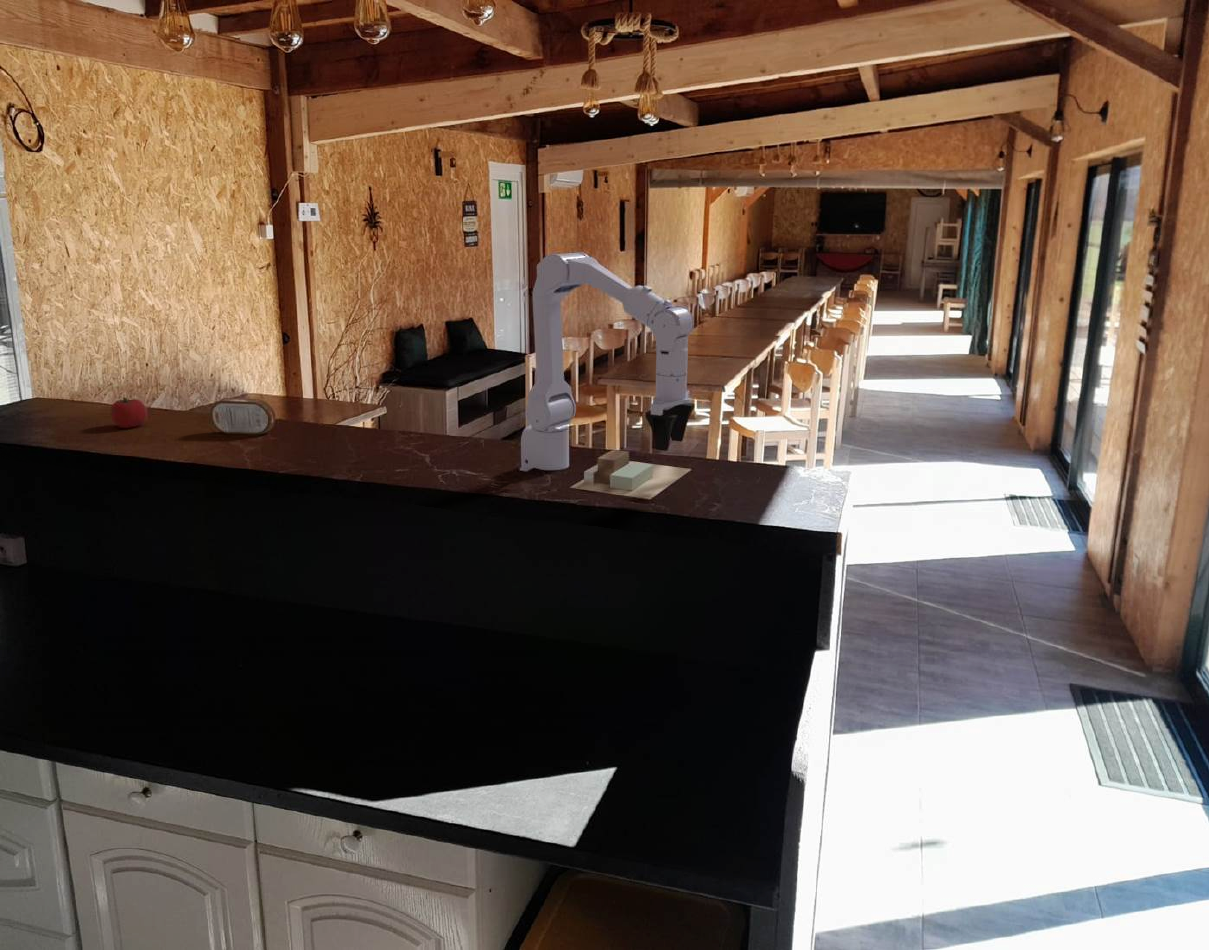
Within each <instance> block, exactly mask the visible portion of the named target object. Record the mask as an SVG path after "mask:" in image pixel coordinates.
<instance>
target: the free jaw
mask: <svg viewBox="0 0 1209 950" xmlns="http://www.w3.org/2000/svg"><path fill="white" fill-rule="evenodd" d="M635 462H636V461H633V462H631V463H629V464H627V465H626V466H624V467H622V468H621V469H619V470H617V471H616V472H614V473H612V474H611V475H610V488H617V489H624V490H631V491H632V490H634V489H635V488H637V487H638V486H640V485H641V484H643V483H644V482H646V481H647V480H649V479H650V478H652V477H653V465H650V464H651V463H648V464H642V463H643V462H640V463H635Z"/></svg>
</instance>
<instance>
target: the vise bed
mask: <svg viewBox="0 0 1209 950" xmlns="http://www.w3.org/2000/svg"><path fill="white" fill-rule="evenodd" d="M631 462H635V463H642V464H650V465H653V477H652V478H650V479H649V480H647V481H646V482H644V483H643V484H641V485H640V486H638V487H637V488H635V489H634V490H632V491H631V490H624V489H617V488H610V485H607V484H600V483H597V484H595V485H594V486H593V485H586V484H584V479H582V480H580V481H579V482H577V483H575V484H573V485H571V486H570V487H569V488H570V489H578V490H584V491H585V490H586V491H590V492H591V491H592V492H598V493H604V494H611V495H617V496H618V495H619V496H625V497H632V498H638V499H645V500H651V499H653V498H654V497H656V496H657V495H659V494H660V493H661V492H663V491H664V490H665V489H667V488H668V487H669V486H670V485H672V484H674V483H675V482H676V481H678V480H679V479H681V478H682V477H683V476H685V475H686V474H687V473H689V472H690V471H692V469H691V468H683V467H675V466H669V465H662V464H654V463H645V462H639V461H631V460H629V463H631ZM570 493H571V494H572V493H573V494H574V492H572V491H570ZM577 494H579V495H581V493H579V492H577ZM584 495H587V496H588V494H586V493H584ZM590 496H593V497H594V494H593V495H591V494H590ZM597 497H599V498H601V496H599V495H597ZM604 498H606V499H608V497H605V496H604ZM610 499H613V500H614V498H613V497H611V498H610ZM617 500H619V501H621V499H620V498H619V499H618V498H617ZM623 501H625V502H627V499H623Z"/></svg>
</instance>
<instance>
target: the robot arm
mask: <svg viewBox="0 0 1209 950" xmlns="http://www.w3.org/2000/svg"><path fill="white" fill-rule="evenodd" d="M583 285H590V286H592V287H593V288H595V289H597V290H599V291H601V292H602V293H604V294H606V295H608V296H609V297H610V298H613V299H615V300H617V301H618V302H620V303H622V308H623V312H625V314H626V315H629V316H630V317H632V318H634V319H635V320H637V321H638V322H639V323H641V324H643V325H644V326H646V327H647V328H649V329H650V331H651V334H652V335H653V337H654V339H655V347H656V352H655V353H656V354H655V355H656V357H655V358H656V361H655V364H656V365H655V396H654V397H653V402H652V403H650V410H647V411H646V412H645V415H644V416H645V419H646V420H647V422H648V424H649V427H650V429H651V433H652V435H653V441H654V445H655V449H656V450H657V451H662V452H663V451H664V452H666V451H668V450H669V448H670V444H671V441H672V442H673V441H674V442H683V441H684V438H685V434H686V429H687V427H688V422H689V419H690V417H691V415H692V413H693V411H694V409H695V407H696V406H695V405H696V404H695V403H693V398H692V397H690V390H688V389H687V387H688V384H687V383H688V359H689V358H688V355H689V353H688V352H689V335H690V334H691V333H692V332H693V329H694V328H695V319H694V315H693V314H692V312H691V311H690V310H689V309H688V308H687V307H686V306H684V305H675V306H674V305H673V303H672V300H669V299H663V298H662V297H660V296H659V295H657V294H656V293H654V292H652V291H653V288H652V287H651V286H649V285H636V286H631V285H629V284H628V283H627V282H625V281H624V280H622V278H620V277H619V276H617V275H616V274H614V273H613V272H612V271H610V270H609V269H607V268H605V267H604V266H603V265H602V264H600V263H599V262H598V261H597V259H596V258H594V257H591V256H589V255H588V254H586V253H585V252H583V251H575V252H572V253H571V252H569V253H558V254H557V253H549V254H547V255H545V256H544V258H543V259H542V260H540V262H538V264H537V265H536V280H535V283H534V287H533V290H532V311H533V313H532V315H533V332H534V352H535V371H536V382H535V383H534V384H533V386H532V387H531V389H530V390H529V392H528V402H527V405H526V408H525V418H526V420H527V423H528V424H529V425H527V426H526V427H525V428H524V429H523V431H522V434H521V438H520V462H521V463H520V464H521V467H519V471H520V472H521V471H522V472H528V471H531V470H532V469H534V468H535V469H538V470H542V471H561V470H564V469H567V468H569V467H570V441H569V440H570V435H569V434H570V433H569V432H570V426H571V420H573V418H574V417H575V415H576V412H577V405H576V401H575V399H574V396H573V393H572V387H571V385H570V384H568V383H567V381H566V380H565V375H564V374H565V372H564V371H565V370H564V368H565V367H564V349H563V327H562V326H563V322H562V301H563V300H564V299H565V298H566V297H567V296H568V294H570V292H572V291H573V290H575V289H578V288H580V287H581V286H583Z"/></svg>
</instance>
